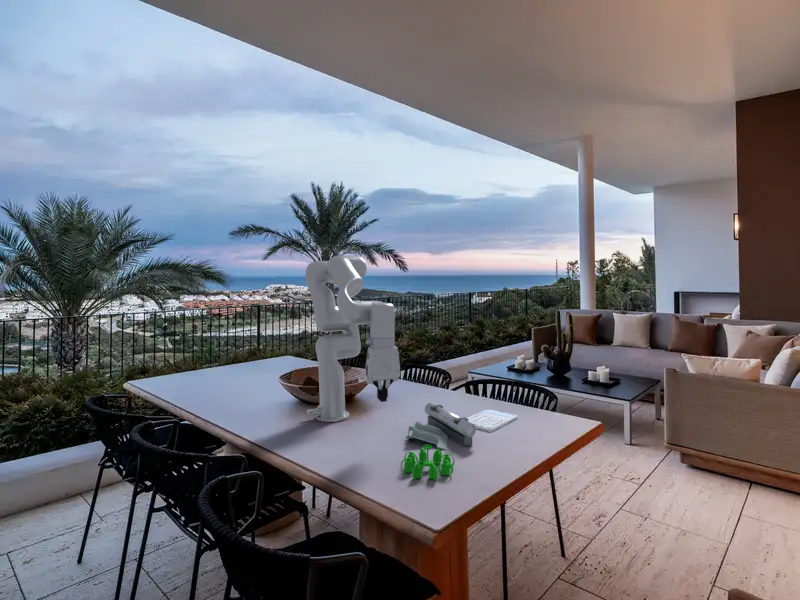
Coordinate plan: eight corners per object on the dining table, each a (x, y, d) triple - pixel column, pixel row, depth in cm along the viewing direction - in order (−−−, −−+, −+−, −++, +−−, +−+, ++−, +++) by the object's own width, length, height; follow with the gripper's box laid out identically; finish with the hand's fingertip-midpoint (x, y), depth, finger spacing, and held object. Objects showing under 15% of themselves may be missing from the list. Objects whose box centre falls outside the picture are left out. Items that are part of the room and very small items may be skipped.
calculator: (458, 425, 154) (458, 420, 154) (487, 412, 168) (487, 407, 168) (490, 434, 145) (490, 428, 145) (518, 419, 159) (518, 414, 159)
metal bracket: (406, 431, 132) (412, 416, 147) (401, 448, 132) (407, 432, 147) (451, 445, 130) (453, 428, 145) (446, 463, 130) (448, 445, 145)
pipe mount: (464, 448, 131) (463, 424, 131) (424, 423, 155) (424, 403, 155) (476, 445, 133) (475, 422, 133) (435, 421, 157) (435, 401, 156)
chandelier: (406, 487, 108) (406, 459, 107) (395, 462, 122) (395, 438, 122) (463, 480, 110) (463, 454, 110) (446, 457, 125) (445, 434, 125)
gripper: (363, 346, 127) (363, 407, 128) (409, 342, 133) (409, 401, 134) (355, 342, 134) (355, 400, 135) (399, 339, 140) (399, 394, 141)
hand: (382, 400), depth 135 cm, fingers closed
